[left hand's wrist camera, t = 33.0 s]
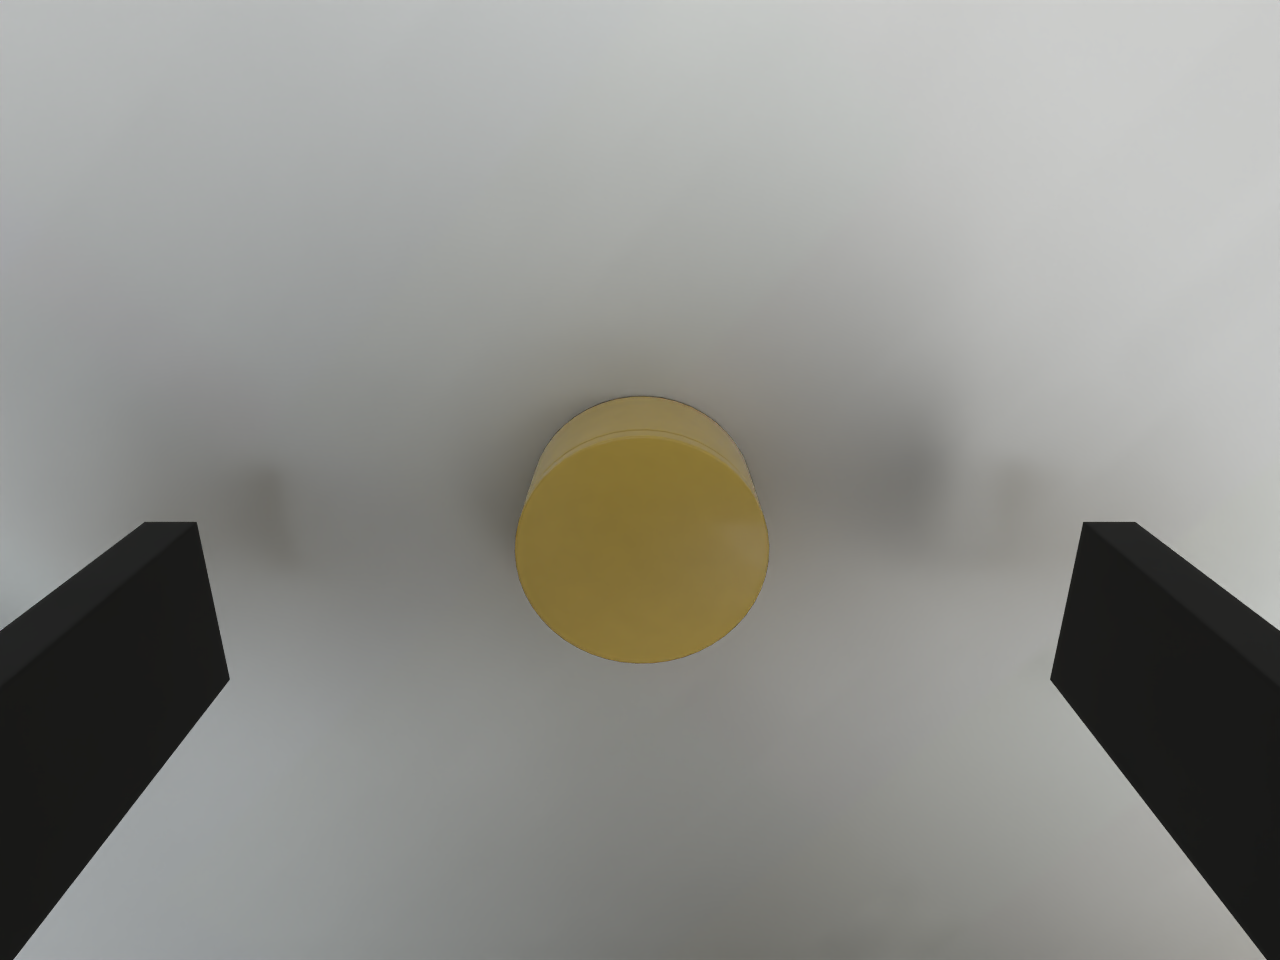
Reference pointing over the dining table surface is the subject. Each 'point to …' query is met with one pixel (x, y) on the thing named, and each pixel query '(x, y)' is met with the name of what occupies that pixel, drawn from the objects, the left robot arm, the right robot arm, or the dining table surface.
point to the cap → (641, 532)
